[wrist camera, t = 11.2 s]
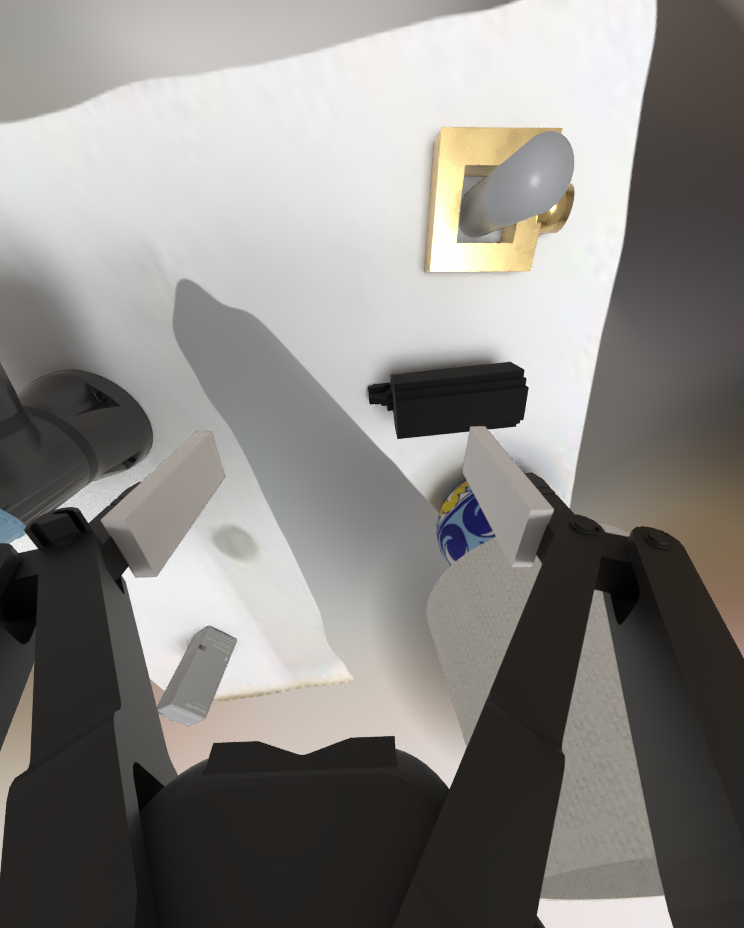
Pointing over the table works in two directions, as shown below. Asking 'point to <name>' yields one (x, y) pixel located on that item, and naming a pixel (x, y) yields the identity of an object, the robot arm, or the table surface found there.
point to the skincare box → (197, 677)
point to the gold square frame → (451, 162)
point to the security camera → (454, 399)
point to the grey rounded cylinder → (519, 186)
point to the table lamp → (589, 719)
